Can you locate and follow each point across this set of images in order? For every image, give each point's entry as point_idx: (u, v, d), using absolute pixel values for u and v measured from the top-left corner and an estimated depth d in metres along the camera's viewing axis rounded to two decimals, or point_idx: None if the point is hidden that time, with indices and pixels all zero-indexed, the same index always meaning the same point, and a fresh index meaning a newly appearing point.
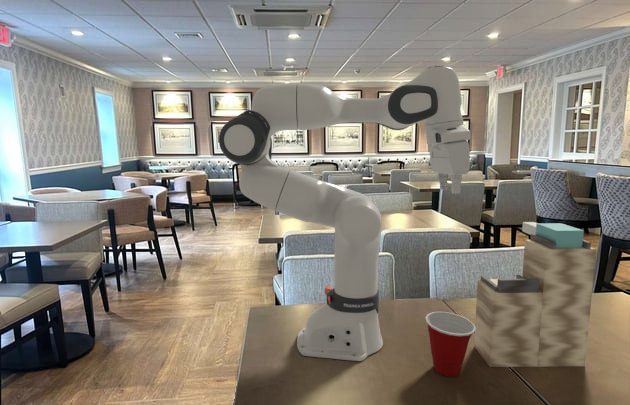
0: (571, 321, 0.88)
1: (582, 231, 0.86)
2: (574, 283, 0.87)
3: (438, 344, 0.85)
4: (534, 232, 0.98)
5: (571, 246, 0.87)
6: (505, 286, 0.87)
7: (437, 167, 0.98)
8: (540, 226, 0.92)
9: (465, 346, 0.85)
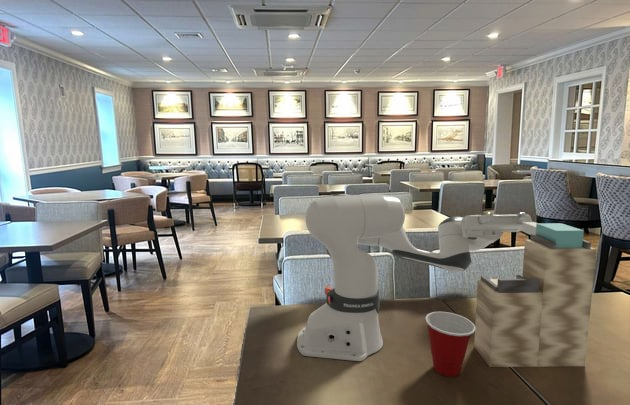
0: (571, 321, 0.88)
1: (582, 231, 0.86)
2: (574, 283, 0.87)
3: (438, 344, 0.85)
4: (534, 232, 0.98)
5: (571, 246, 0.87)
6: (505, 286, 0.87)
7: (507, 226, 1.20)
8: (540, 226, 0.92)
9: (465, 346, 0.85)
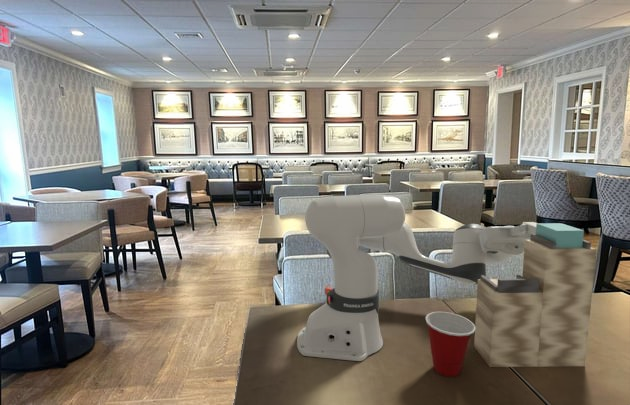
0: (571, 321, 0.88)
1: (582, 231, 0.86)
2: (574, 283, 0.87)
3: (437, 344, 0.85)
4: (534, 232, 0.98)
5: (571, 246, 0.87)
6: (505, 286, 0.87)
7: None
8: (540, 226, 0.92)
9: (465, 346, 0.85)
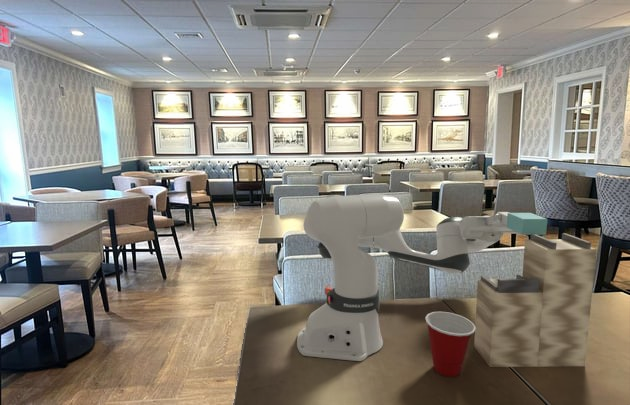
0: (571, 321, 0.88)
1: (546, 219, 0.96)
2: (574, 283, 0.87)
3: (438, 344, 0.85)
4: (506, 221, 1.08)
5: (536, 233, 0.97)
6: (505, 286, 0.87)
7: (507, 228, 1.15)
8: (510, 215, 1.02)
9: (465, 346, 0.85)
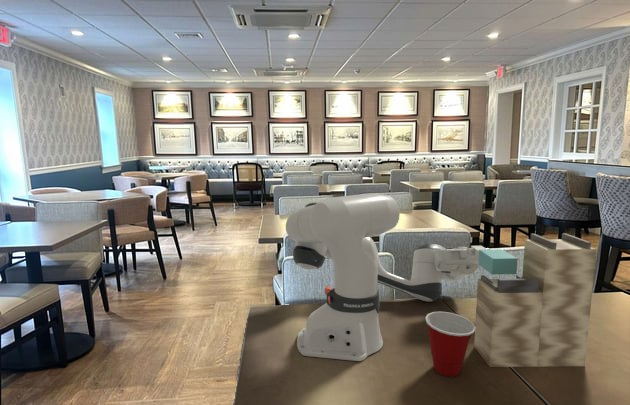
0: (571, 321, 0.88)
1: (516, 259, 0.94)
2: (574, 283, 0.87)
3: (438, 344, 0.85)
4: (479, 256, 1.06)
5: (506, 272, 0.95)
6: (505, 286, 0.87)
7: None
8: (481, 252, 1.00)
9: (465, 346, 0.85)
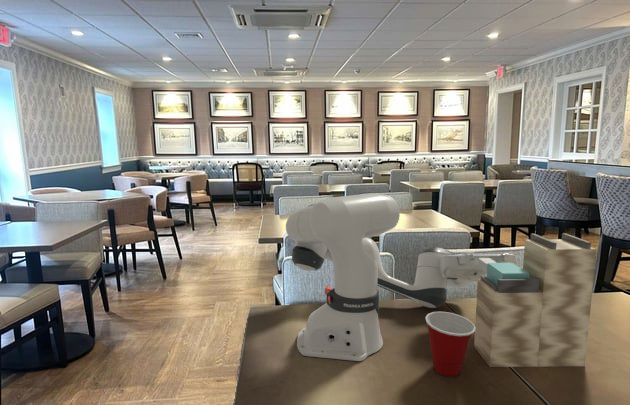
0: (571, 321, 0.88)
1: (527, 274, 0.88)
2: (574, 283, 0.87)
3: (438, 344, 0.85)
4: (487, 270, 1.00)
5: None
6: (505, 286, 0.87)
7: None
8: (490, 266, 0.95)
9: (465, 346, 0.85)
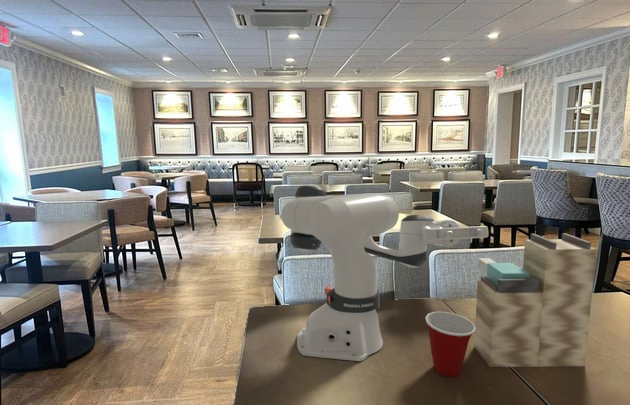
0: (571, 321, 0.88)
1: (527, 274, 0.88)
2: (574, 283, 0.87)
3: (438, 344, 0.85)
4: (487, 270, 1.00)
5: None
6: (505, 286, 0.87)
7: (465, 238, 1.23)
8: (490, 266, 0.95)
9: (465, 346, 0.85)
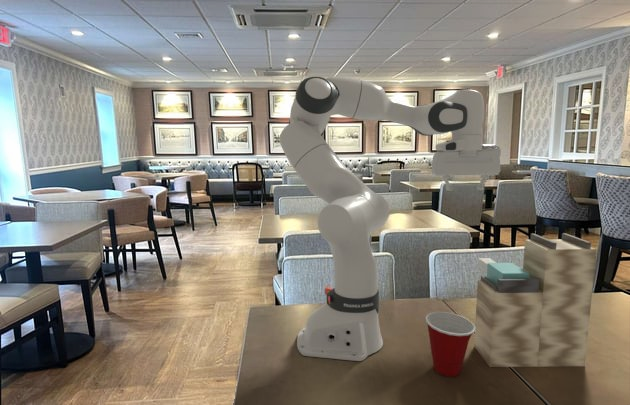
0: (571, 321, 0.88)
1: (527, 274, 0.88)
2: (574, 283, 0.87)
3: (438, 344, 0.85)
4: (487, 270, 1.00)
5: None
6: (505, 286, 0.87)
7: None
8: (490, 266, 0.95)
9: (465, 346, 0.85)
